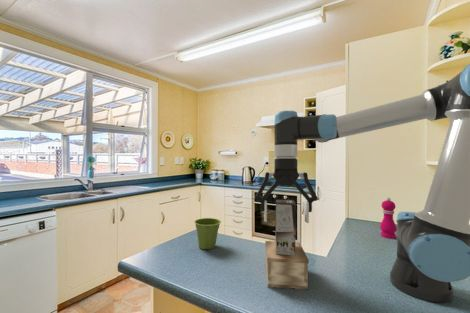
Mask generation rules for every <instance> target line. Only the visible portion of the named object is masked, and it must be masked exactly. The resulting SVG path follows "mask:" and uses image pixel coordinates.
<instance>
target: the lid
mask: <svg viewBox="0 0 470 313" xmlns="http://www.w3.org/2000/svg"><path fill="white" fill-rule="evenodd" d="M264 244H265V256H266V255H267V261H270V262H289V263H308V265H309V263H310V262H309V258H308V256H307V254H306V252H305V250H304V248H303V246H302V245H301V243H300V242H297V241H295V256H291V255H281V254H276V241H275V240H274V241H273V240H272V241H271V240H265V242H264Z"/></svg>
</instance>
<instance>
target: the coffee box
mask: <svg viewBox="0 0 470 313" xmlns="http://www.w3.org/2000/svg"><path fill="white" fill-rule="evenodd" d="M296 221H297V204H296V202H295V200H294V199H276V200H275V240H274V241H276V254H281V255H291V256H295V242H296V238H297V237H296V235H297V234H296V231H297V230H296V228H297V222H296Z"/></svg>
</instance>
